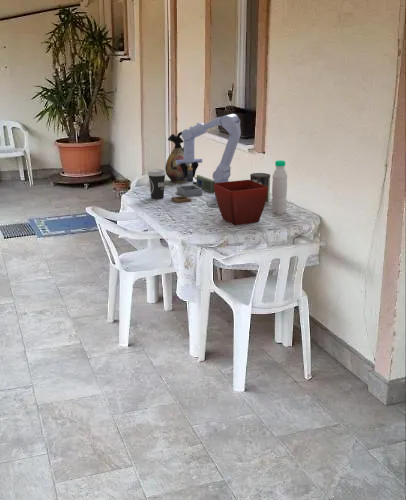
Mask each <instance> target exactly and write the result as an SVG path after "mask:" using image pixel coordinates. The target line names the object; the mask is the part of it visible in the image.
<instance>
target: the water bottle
mask: <svg viewBox="0 0 406 500" xmlns="http://www.w3.org/2000/svg"><path fill="white" fill-rule="evenodd" d="M274 165H275V169H274V171H273V174H272V183H271V184H272V185H271V188H272V189H271V197H272V198H271V213H273V214H277V215H282V214H285V213H286V212H287V192H288V174H287V171H286V169H285V167H286V161H285V160H275V164H274Z"/></svg>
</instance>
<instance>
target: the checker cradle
mask: <svg viewBox="0 0 406 500" xmlns="http://www.w3.org/2000/svg"><path fill="white" fill-rule="evenodd" d="M170 200H171V201H172V202H174V203H175V204H182V203H191V202H193V201H192V199H191V198H190V197H189V196H183V195H181V196H172V197H171V198H170Z"/></svg>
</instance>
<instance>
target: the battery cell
mask: <svg viewBox="0 0 406 500" xmlns="http://www.w3.org/2000/svg"><path fill="white" fill-rule="evenodd" d="M193 180H194V177H193V166H191V165H188V166H187V177H186V182H185V183H193V182H194V181H193Z"/></svg>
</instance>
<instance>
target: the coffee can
mask: <svg viewBox="0 0 406 500" xmlns="http://www.w3.org/2000/svg"><path fill="white" fill-rule="evenodd" d="M249 176H250V179H249V180H252V181H255V182H257V183H260V184H262V185H265V186H267V187H268V193H267V198H266V202H265V204H268V203H270V193H271V192H270V190H271V189H270V186H271V174H270V173H265V172H253V173H250V174H249Z"/></svg>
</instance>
